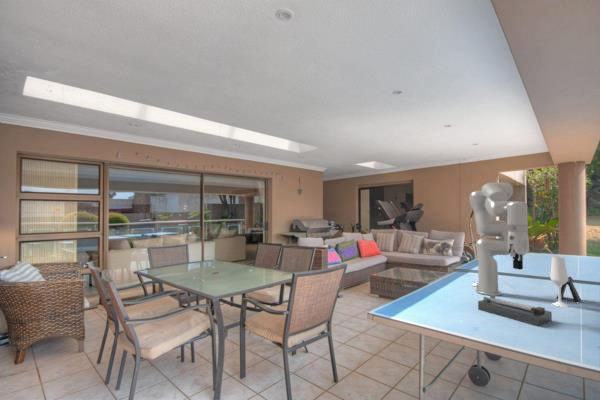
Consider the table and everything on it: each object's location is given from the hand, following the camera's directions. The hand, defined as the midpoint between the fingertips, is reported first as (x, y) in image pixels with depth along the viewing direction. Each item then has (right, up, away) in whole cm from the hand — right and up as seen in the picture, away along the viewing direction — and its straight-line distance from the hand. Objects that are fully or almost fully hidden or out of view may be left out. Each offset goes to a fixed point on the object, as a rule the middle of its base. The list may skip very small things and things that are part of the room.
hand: (517, 268), depth 133 cm
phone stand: (+44, -22, +23) cm, 54 cm away
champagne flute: (+31, -22, +13) cm, 40 cm away
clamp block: (-3, -21, -1) cm, 21 cm away
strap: (-4, -16, 0) cm, 17 cm away
